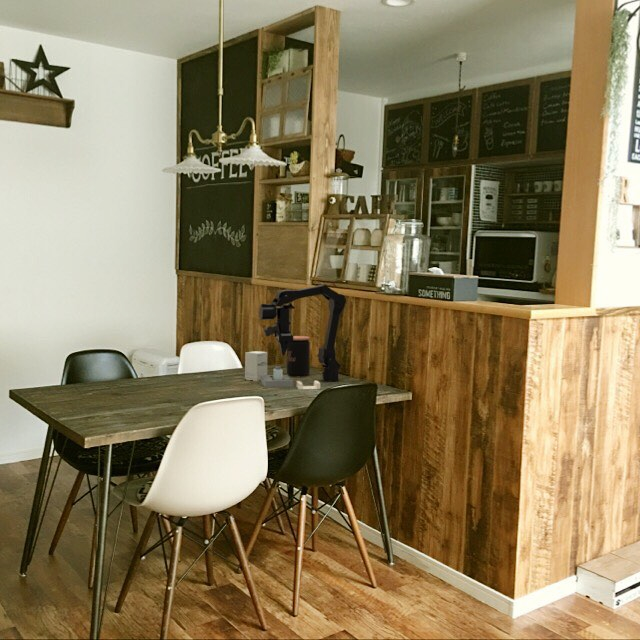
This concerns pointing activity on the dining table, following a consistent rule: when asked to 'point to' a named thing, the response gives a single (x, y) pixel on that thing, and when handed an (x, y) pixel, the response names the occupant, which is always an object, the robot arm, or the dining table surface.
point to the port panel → (276, 381)
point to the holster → (300, 386)
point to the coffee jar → (298, 356)
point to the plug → (277, 373)
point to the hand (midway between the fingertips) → (283, 355)
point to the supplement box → (255, 365)
